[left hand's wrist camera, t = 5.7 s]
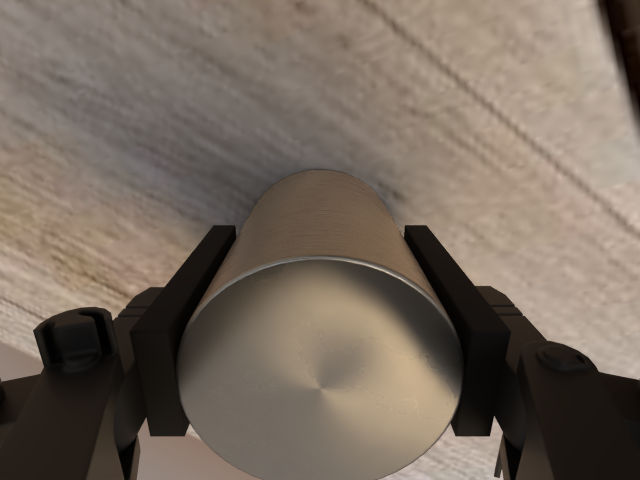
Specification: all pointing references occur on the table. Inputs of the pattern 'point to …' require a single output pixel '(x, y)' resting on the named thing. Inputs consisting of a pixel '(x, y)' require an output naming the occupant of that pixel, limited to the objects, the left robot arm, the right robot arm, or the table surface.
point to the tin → (320, 341)
